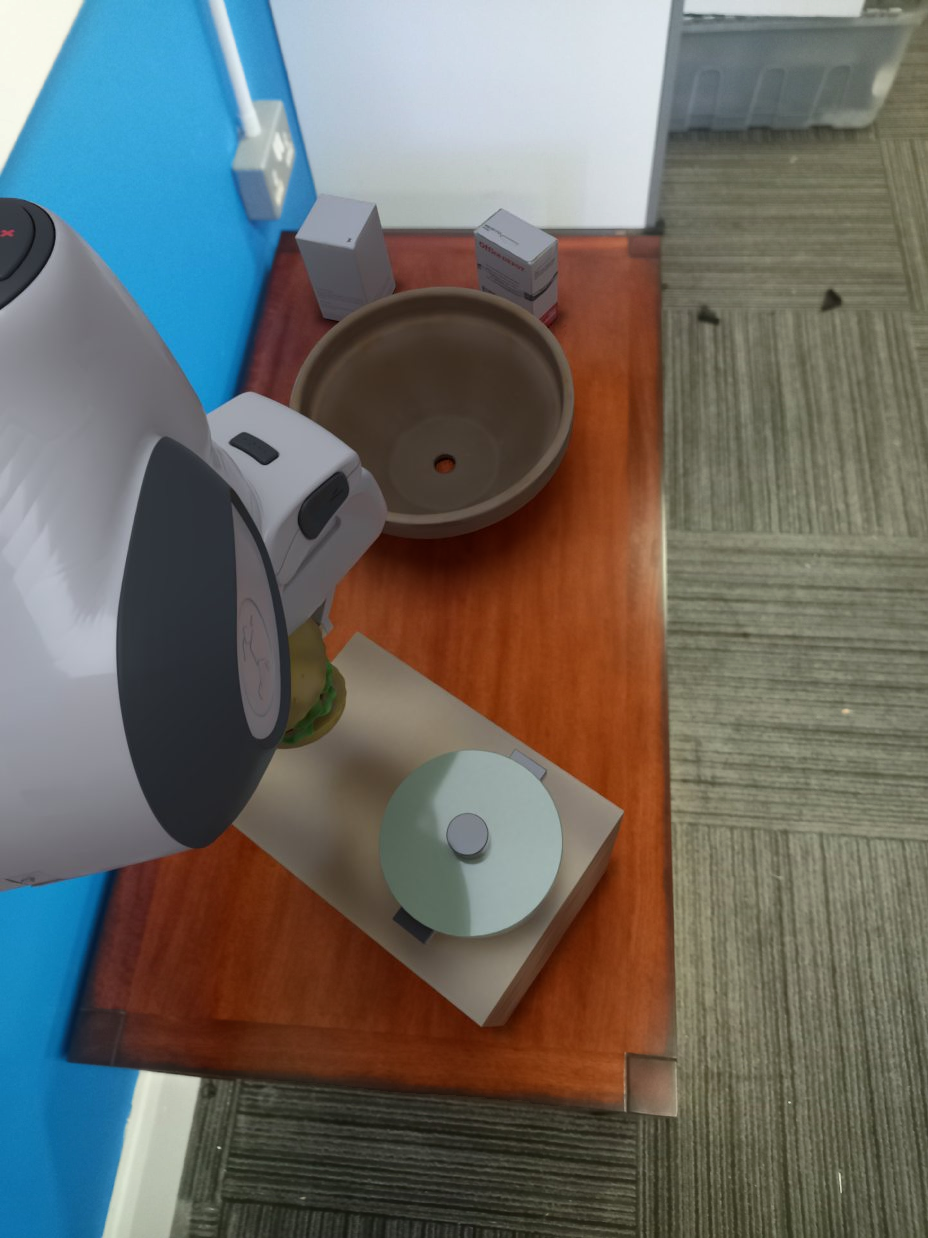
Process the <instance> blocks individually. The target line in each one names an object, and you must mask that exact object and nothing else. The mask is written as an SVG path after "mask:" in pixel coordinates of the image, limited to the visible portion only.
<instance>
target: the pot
mask: <svg viewBox="0 0 928 1238" xmlns="http://www.w3.org/2000/svg"><path fill="white" fill-rule="evenodd" d="M546 776H547V770H546V769H545V768H543V767H542V766H540V765H539V764H537V763H536V762H534V761H533V760H531V759H530V758H528V757H527V756H525V755H524V754H522V753H521V752H520V751H518V750H517V749H515V750H514V751H513V752H512V754H511V755H510V757H506V756H504V755H501V754H498V753H494V752H491V751H484V750H460V751H454V752H450V753H446V754H443V755H440V756H438V757H435V758H433V759H431V760H429V761H427V762H426V763H424V764H422V765H421V766H419V767H418V768H417V769H415V770H414V771H413V772H412V773H411V774H410V775H408V776H407V777H406V778H405V779H404V781H403V782H402V783H401V784H400V785H399V786H398V788H397V789H396V791H395V792H394V794H393V795H392V797H391V799H390V801H389V803H388V805H387V807H386V810H385V812H384V815H383V818H382V822H381V827H380V833H379V857H380V863H381V868H382V871H383V874H384V877H385V880H386V882H387V884H388V887H389V889H390V891H391V892H392V894H393V895H394V897H395V899H396V900H397V901H398V903H399V904H400V905H401V907H400V909H399V910H398V911H397V913H396V914H395V915H394V917H393V918H392V919H393V920H394V921H395V922H396V923H398V924H399V925H400V926H401V927H403V928H404V929H405V930H406V931H408V932H409V933H410V934H411V935H413V936H414V937H415V938H416V939H418V940H419V941H420V942H421V943H423V944H424V945H426V946H427V945H428V943H429V942H430V941H431V939H432V938H433V936H434V935H435V933H436V932H440V933H443V934H446V935H449V936H455V937H460V938H467V939H479V940H482V939H492V938H496V937H500V936H503V935H506V934H508V933H511V932H513V931H515V930H516V929H518V928H520V927H521V926H523V925H524V924H525V923H527V922H528V921H529V920H530V919H531V918H532V917H533V916H534V915H535V914H536V913H537V912H538V911H539V909H540V908H541V907H542V906H543V904H544V902H545V901H546V899H547V897H548V895H549V893H550V890H551V889H552V887H553V885H554V883H555V880H556V878H557V875H558V872H559V869H560V865H561V860H562V853H563V833H562V825H561V821H560V817H559V813H558V810H557V808H556V805H555V803H554V801H553V799H552V797H551V795H550V794H549V792H548V790H547V789H546V787H545V786H544V785H543V783H542V781H543V780H544V779H545V777H546Z"/></svg>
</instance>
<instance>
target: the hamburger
mask: <svg viewBox="0 0 928 1238" xmlns="http://www.w3.org/2000/svg"><path fill="white" fill-rule="evenodd" d="M288 641H289V650H290V665H291V703H290V711H289V717H288V722H287V725H286V728H285V731H284V733H283V736H282V738H281V740H280V742H279V744H278V747H277V749H292V748H299V747H302V746H305V745H308V744H311V743H313V742H315V741H317V740H319V739H321V738H322V737H323V736H325V735H326V734H327V733H329V732H330V731H331V730H332V728H333V727H334V726H335V725H336V724H337V723H338V721H339V719H340V717H341V716H342V714H343V711H344V709H345V705H346V695H347V691H346V687H345V679H344V677H343V676H342V674H341V673H340V672H339V670H338V669H337V668H336V667H335V666H334V665H332V664H331V661H330V660H329V658H328V655H327V654H326V653H327V647H326V646H327V645H326V643H325V641H324V639H323V638H322V633H321V630H320V628H319V626H318V625H317V623H316V622H315V621H314V620H313V619H312V618H311V616H310V617H309V619H308V620H307V621H306V622H305V623H304V624H302V625H301V626H300V627H298V628H297V629H296V630H295V631H294V632H293V633H292V634H291V635H289V636H288Z"/></svg>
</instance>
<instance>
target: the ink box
mask: <svg viewBox="0 0 928 1238" xmlns="http://www.w3.org/2000/svg"><path fill="white" fill-rule="evenodd" d="M473 240H474V250H475V259H476V268H477V269H476V270H477V280H478V290H479V291H483V292H487V293H490V294H493V295H496V296H500V297H502V298H505V299H507V300H509V301H511V302H513V303H515V304H517V305H519V306H521V307H522V308H524V309H525V310H527V311H528V312H530V313H531V314H532V315H534V316H535V317H536V318H538V319H539V320H540V321H541V322H542V323H543V324H544V325H545V326H546V327H547V328H548V327H549V326H550V325H552V323H554V321H555V320H556V319H557V318H558V304H559V303H558V301H559V299H558V297H559V296H558V295H559V294H558V293H559V273H558V272H559V239H558V238H556V237H555V236H553V235H551V234H549V233H547V232H546V231H544V230H542V229H540V228H538V227H536V226H535V225H533V224H531V223H529V222H527V220H524V219H522V218H521V217H519V216H517V215H515V214H514V213H511V212H510V211H508V210H506V209H504V208H503V207H502V208H499V209H498V210H497V211H495V212H494V213H493V214H492V215H490V216H489V217H488V218H487V219H486V220H484V221H483V222H482V223H481V224H479V225H478V226H477V227H476V228H475V229H474V230H473Z"/></svg>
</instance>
